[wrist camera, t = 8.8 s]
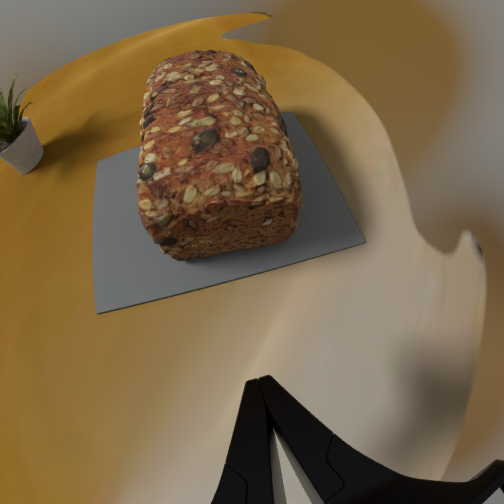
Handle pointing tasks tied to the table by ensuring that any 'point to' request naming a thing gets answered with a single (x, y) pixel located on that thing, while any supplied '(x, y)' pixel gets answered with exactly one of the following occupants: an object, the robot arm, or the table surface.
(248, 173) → the bread
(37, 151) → the house plant
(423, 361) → the table surface
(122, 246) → the serving mat
